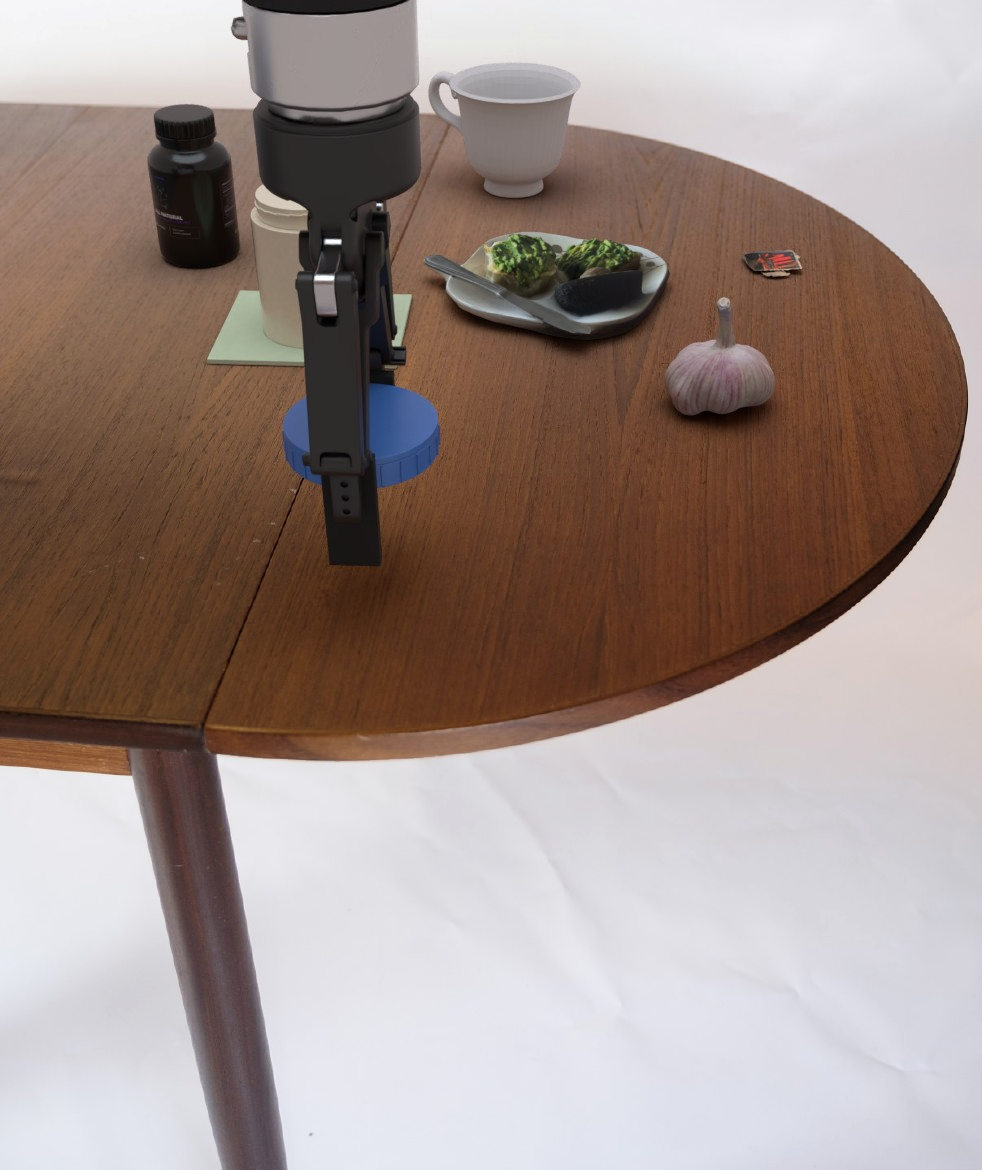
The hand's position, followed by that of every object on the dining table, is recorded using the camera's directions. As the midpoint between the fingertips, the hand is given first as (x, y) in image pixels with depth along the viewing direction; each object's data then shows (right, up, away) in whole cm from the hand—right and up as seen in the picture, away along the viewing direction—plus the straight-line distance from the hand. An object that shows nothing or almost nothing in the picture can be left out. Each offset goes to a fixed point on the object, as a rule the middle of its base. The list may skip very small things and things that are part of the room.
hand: (366, 514), depth 71 cm
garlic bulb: (+23, +9, +19) cm, 31 cm away
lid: (0, +4, -3) cm, 6 cm away
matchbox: (+31, +23, +37) cm, 54 cm away
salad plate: (+13, +19, +32) cm, 40 cm away
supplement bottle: (-18, +24, +39) cm, 50 cm away
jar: (-7, +16, +27) cm, 32 cm away
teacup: (+8, +35, +53) cm, 63 cm away
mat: (-7, +16, +27) cm, 32 cm away
